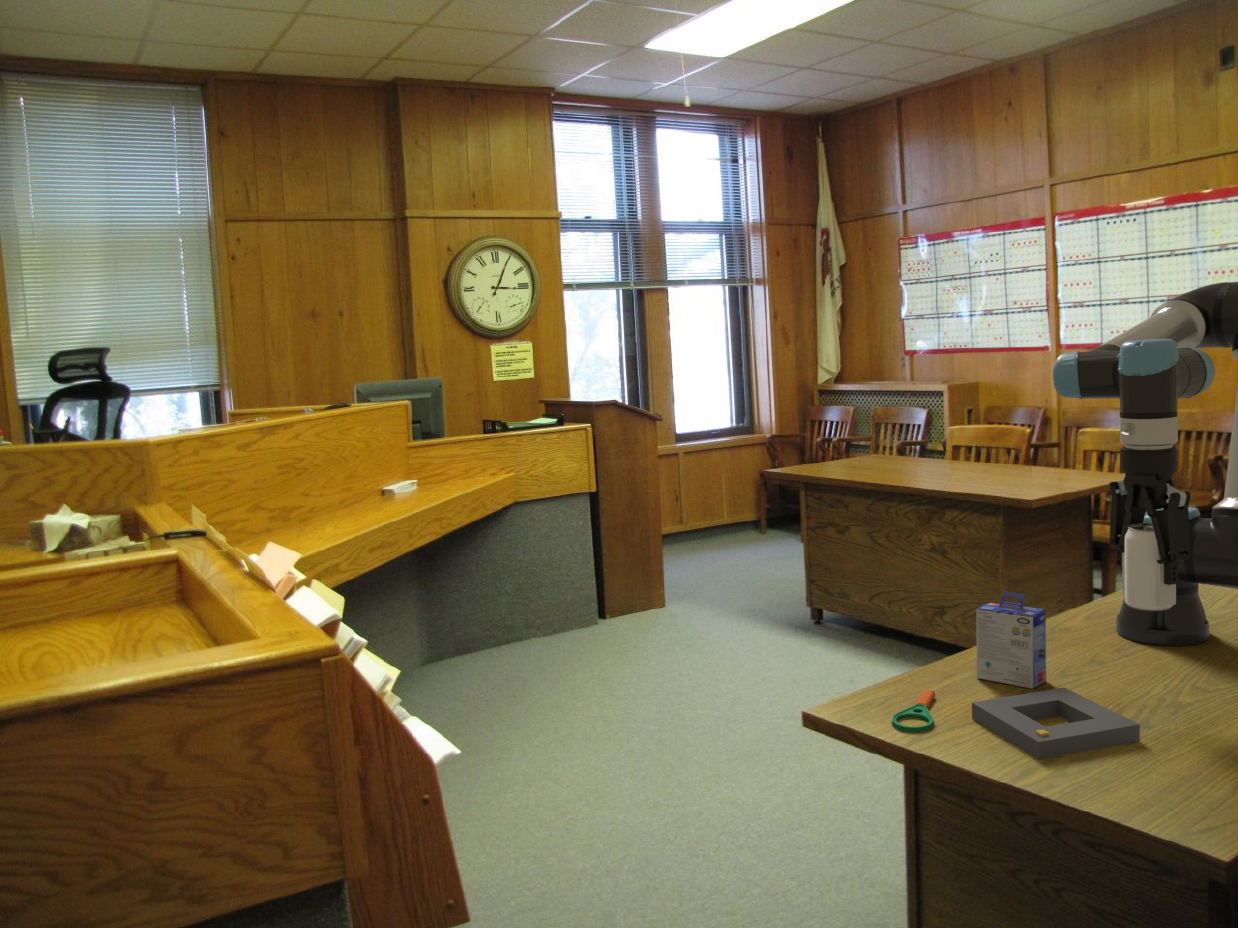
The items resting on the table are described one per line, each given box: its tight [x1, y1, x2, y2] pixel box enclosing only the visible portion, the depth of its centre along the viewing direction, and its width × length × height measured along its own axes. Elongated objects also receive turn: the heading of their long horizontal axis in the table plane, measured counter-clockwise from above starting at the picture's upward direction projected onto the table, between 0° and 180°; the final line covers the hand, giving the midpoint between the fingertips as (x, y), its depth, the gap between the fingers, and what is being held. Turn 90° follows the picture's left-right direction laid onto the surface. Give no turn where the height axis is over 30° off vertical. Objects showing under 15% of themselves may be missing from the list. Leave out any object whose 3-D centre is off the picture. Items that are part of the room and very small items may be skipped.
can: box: [1124, 523, 1173, 611], centre depth 151 cm, size 6×6×12 cm
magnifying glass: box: [891, 689, 936, 734], centre depth 157 cm, size 15×6×2 cm, turn 151°
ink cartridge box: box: [975, 591, 1047, 689], centre depth 167 cm, size 10×6×14 cm, turn 46°
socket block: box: [971, 687, 1141, 760], centre depth 147 cm, size 16×16×3 cm
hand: (1148, 598), depth 151 cm, fingers closed on can, 6 cm apart
